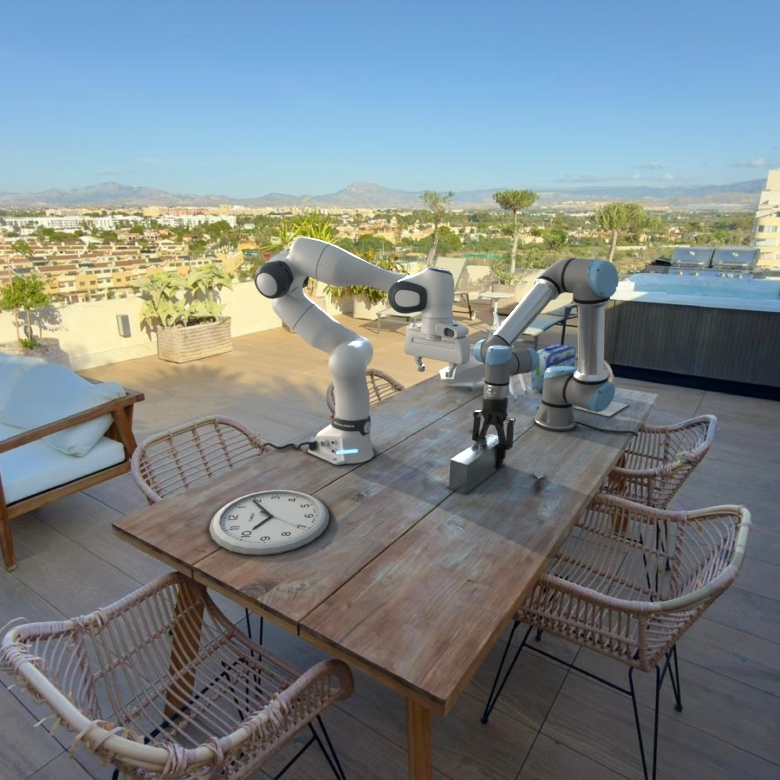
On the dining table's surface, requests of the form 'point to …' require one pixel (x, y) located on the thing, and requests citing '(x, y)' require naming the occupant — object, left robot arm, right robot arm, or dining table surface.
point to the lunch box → (551, 362)
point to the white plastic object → (477, 371)
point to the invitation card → (608, 409)
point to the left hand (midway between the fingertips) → (434, 374)
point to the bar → (474, 464)
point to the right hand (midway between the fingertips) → (490, 464)
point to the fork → (538, 475)
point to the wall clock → (269, 522)
